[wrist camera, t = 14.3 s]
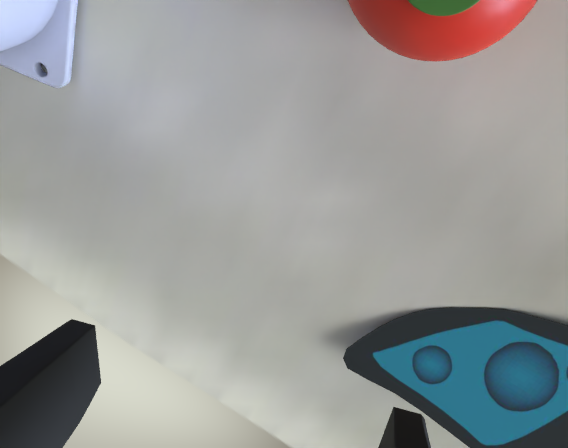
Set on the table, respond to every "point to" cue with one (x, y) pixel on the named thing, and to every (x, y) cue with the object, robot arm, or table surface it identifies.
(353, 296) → the table surface
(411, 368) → the decorative butterfly
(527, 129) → the table surface
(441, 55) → the tomato
